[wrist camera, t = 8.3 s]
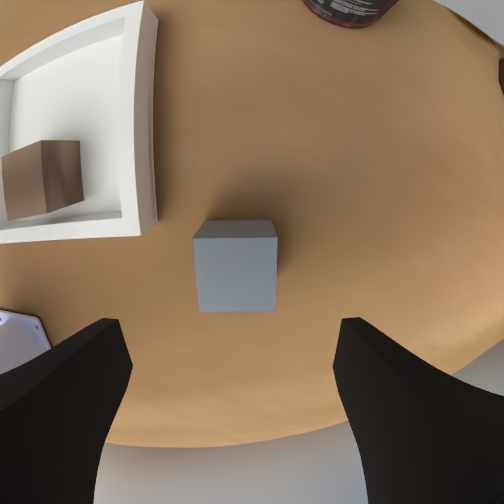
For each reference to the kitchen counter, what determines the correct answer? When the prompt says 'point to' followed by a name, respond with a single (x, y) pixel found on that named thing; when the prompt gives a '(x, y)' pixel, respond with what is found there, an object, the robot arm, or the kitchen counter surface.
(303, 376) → the kitchen counter surface
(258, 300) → the slate block
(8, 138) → the tray
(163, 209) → the kitchen counter surface
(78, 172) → the walnut block
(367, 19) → the supplement bottle
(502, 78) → the beer bottle
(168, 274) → the kitchen counter surface
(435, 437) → the robot arm
